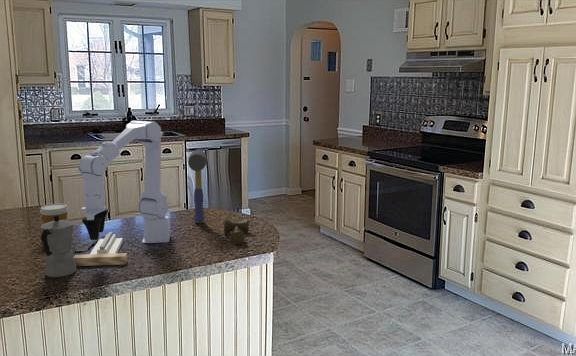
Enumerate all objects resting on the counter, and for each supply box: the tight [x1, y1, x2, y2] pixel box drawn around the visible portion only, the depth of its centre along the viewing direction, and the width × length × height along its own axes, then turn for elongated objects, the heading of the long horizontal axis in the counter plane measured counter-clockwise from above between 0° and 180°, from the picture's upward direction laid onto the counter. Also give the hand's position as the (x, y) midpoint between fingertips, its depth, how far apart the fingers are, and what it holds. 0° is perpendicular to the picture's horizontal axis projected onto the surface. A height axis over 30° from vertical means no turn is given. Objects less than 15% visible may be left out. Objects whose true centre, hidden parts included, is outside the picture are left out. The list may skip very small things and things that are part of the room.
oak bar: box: [73, 252, 128, 267], centre depth 156 cm, size 16×3×3 cm, turn 97°
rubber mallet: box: [187, 149, 208, 224], centre depth 198 cm, size 12×8×30 cm, turn 7°
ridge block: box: [89, 231, 124, 254], centre depth 168 cm, size 8×16×4 cm, turn 9°
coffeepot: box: [40, 215, 77, 278], centre depth 146 cm, size 15×9×18 cm, turn 179°
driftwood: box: [76, 235, 106, 252], centre depth 175 cm, size 21×7×2 cm, turn 177°
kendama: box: [223, 218, 250, 245], centre depth 184 cm, size 6×10×20 cm
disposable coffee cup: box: [39, 203, 69, 224], centre depth 179 cm, size 10×10×12 cm
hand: (97, 235), depth 154 cm, fingers open, 7 cm apart
